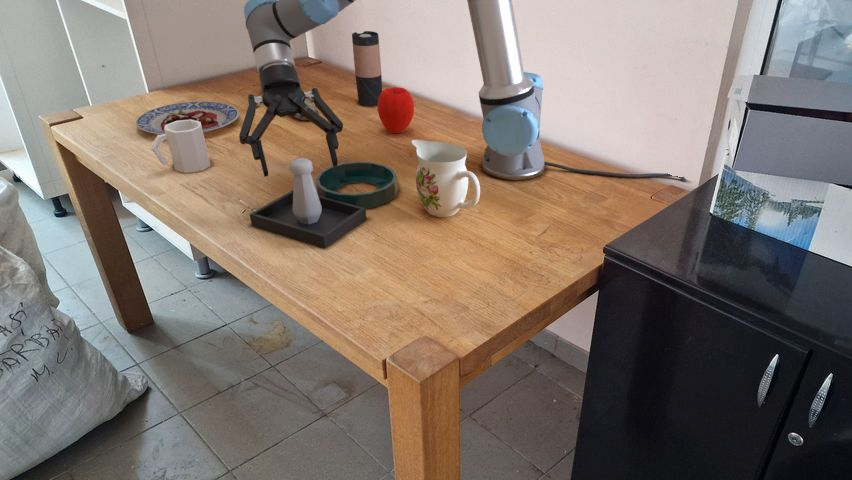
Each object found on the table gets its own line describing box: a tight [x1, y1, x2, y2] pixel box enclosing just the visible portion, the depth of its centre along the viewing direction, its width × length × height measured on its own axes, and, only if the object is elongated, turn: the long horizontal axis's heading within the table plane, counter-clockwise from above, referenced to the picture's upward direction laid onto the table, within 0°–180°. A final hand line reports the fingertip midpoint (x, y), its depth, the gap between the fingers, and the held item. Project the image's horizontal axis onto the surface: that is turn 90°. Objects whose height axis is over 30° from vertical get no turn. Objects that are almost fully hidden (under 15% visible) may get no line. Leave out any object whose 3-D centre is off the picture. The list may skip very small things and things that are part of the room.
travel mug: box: [351, 30, 383, 108], centre depth 192 cm, size 8×8×20 cm
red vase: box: [376, 86, 415, 134], centre depth 175 cm, size 10×10×12 cm
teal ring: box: [315, 161, 399, 210], centre depth 146 cm, size 18×18×4 cm
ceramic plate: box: [135, 100, 240, 135], centre depth 177 cm, size 26×26×3 cm
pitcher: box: [411, 138, 481, 218], centre depth 137 cm, size 11×18×14 cm, turn 53°
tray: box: [249, 189, 368, 249], centre depth 134 cm, size 19×14×3 cm
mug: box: [150, 120, 211, 174], centre depth 152 cm, size 12×9×10 cm
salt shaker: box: [289, 157, 322, 224], centre depth 131 cm, size 6×6×13 cm
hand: (301, 169), depth 130 cm, fingers open, 13 cm apart
